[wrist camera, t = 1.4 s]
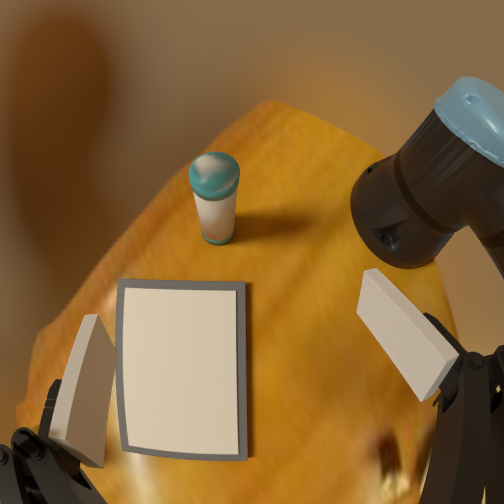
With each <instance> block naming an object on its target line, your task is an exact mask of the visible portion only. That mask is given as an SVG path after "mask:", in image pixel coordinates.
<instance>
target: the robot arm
mask: <svg viewBox="0 0 504 504" xmlns="http://www.w3.org/2000/svg"><path fill="white" fill-rule="evenodd" d="M434 106H435V107H434V109H433V110H432V111H431V112H430V114H429V115H428V116H427V117H426V119H425V120H424V121H423V122H422V123H421V125H420V126H419V127H418V128H417V129H416V131H415V132H414V133H413V134H412V135H411V137H410V138H409V139H408V140H407V141H406V143H405V144H404V145H403V146H402V148H401V149H400V150H399V151H398V152H397V153H395V154H393V155H391V156H389V157H387V158H385V159H382V160H380V161H378V162H376V163H374V164H372V165H371V166H369V167H368V168H367V169H366V170H365V171H364V172H363V173H362V174H361V176H360V177H359V178H358V179H357V181H356V182H355V184H354V186H353V189H352V193H351V212H352V217H353V221H354V224H355V226H356V229H357V231H358V233H359V235H360V236H361V238H362V240H363V241H364V243H365V244H366V245H367V246H368V248H369V249H370V250H371V251H372V252H373V253H374V254H375V255H376V256H377V257H379V258H380V259H381V260H383V261H384V262H386V263H388V264H390V265H392V266H394V267H398V268H403V269H411V268H416V267H419V266H421V265H423V264H425V263H427V262H429V261H431V260H432V259H434V258H435V257H436V256H437V255H438V253H439V252H440V251H441V250H442V248H443V247H444V246H445V245H446V243H447V242H448V241H449V239H450V238H451V237H452V235H453V234H454V233H455V232H456V231H458V230H460V229H462V228H463V227H465V226H467V225H469V226H470V228H471V229H472V230H473V232H474V233H475V234H476V236H477V237H478V239H479V240H480V241H481V243H482V245H483V246H484V248H485V249H486V251H487V252H488V254H489V255H490V257H491V258H492V260H493V262H494V263H495V265H496V267H497V268H498V270H499V272H500V273H501V275H502V277H503V279H504V93H502V92H501V91H499V90H498V89H497V88H496V87H494V86H493V85H491V84H489V83H487V82H485V81H483V80H481V79H478V78H474V77H462V78H460V79H458V80H457V81H455V82H454V83H453V85H452V86H451V87H450V88H449V89H448V90H447V92H446V93H445V94H444V95H443V96H441V97H439V98H438V99H437V100H436V102H435V104H434ZM357 314H358V315H359V316H360V318H361V319H362V320H363V322H364V323H365V324H366V326H367V327H368V328H369V330H370V331H371V332H372V334H373V335H374V336H375V338H376V339H377V341H378V342H379V343H380V345H381V346H382V347H383V349H384V350H385V352H386V353H387V354H388V356H389V357H390V358H391V360H392V361H393V363H394V364H395V366H396V367H397V368H398V370H399V371H400V373H401V374H402V375H403V377H404V378H405V380H406V381H407V383H408V384H409V386H410V387H411V389H412V390H413V391H414V393H415V394H416V396H417V397H418V399H419V400H420V402H422V401H424V400H426V399H427V398H429V397H431V396H433V395H434V393H435V392H436V390H437V389H438V387H439V388H440V390H441V393H440V394H439V395H438V397H437V398H436V399H435V401H434V402H433V405H432V406H435V405H436V403H437V402H438V401H439V404H438V406H437V407H438V414H437V422H436V429H435V436H434V442H433V448H432V453H431V458H430V463H429V467H428V472H427V476H426V480H425V484H424V487H423V491H422V494H421V498H420V501H419V504H481V503H482V499H483V494H484V488H485V498H486V500H485V502H486V503H485V504H504V345H501V346H499V347H498V348H497V349H496V351H495V352H494V354H492V355H487V356H482V355H481V354H479V353H477V352H469V353H468V352H467V351H466V350H465V349H464V348H463V347H462V346H461V345H460V344H459V342H458V341H457V340H456V339H455V338H454V337H453V336H452V335H451V334H450V333H449V332H447V329H446V328H445V327H444V326H442V324H441V323H440V322H439V321H438V320H437V319H436V318H435V317H433V316H432V315H430V314H428V313H423V314H422V313H421V312H420V311H419V310H418V309H417V308H416V307H415V306H414V305H413V304H412V303H411V302H410V301H409V300H408V299H407V298H406V297H405V296H404V295H403V294H402V293H401V292H400V291H399V290H398V289H397V288H396V287H395V286H394V285H393V284H392V283H391V282H390V281H389V280H388V279H387V278H386V277H385V276H384V275H383V274H382V273H381V272H380V271H379V270H378V269H377V268H374V269H369V270H365V271H364V275H363V281H362V286H361V292H360V297H359V302H358V307H357ZM117 355H118V353H117V351H116V349H115V347H114V345H113V343H112V342H111V340H110V338H109V336H108V334H107V332H106V330H105V327H104V325H103V323H102V321H101V319H100V317H99V315H98V314H91V315H85V316H84V318H83V321H82V323H81V326H80V329H79V331H78V334H77V337H76V340H75V342H74V345H73V348H72V351H71V354H70V357H69V360H68V363H67V366H66V369H65V372H64V376H63V379H62V380H58V379H56V380H55V381H54V383H53V384H52V386H51V387H50V389H49V392H48V395H47V400H46V403H45V408H44V410H43V414H42V418H41V422H40V426H39V431H38V435H36V434H35V433H34V432H33V431H32V430H30V429H29V428H26V427H22V428H19V429H17V430H16V432H14V434H13V436H12V439H11V447H12V450H11V449H10V448H9V447H8V446H6V445H3V444H0V502H1V504H107V502H106V501H105V500H104V499H103V497H102V496H101V495H100V494H99V492H98V491H97V490H96V488H95V487H94V485H93V484H92V483H91V481H90V480H89V478H88V477H87V476H86V474H85V473H84V471H83V470H82V469H81V468H80V462H82V463H83V464H84V465H86V466H87V467H93V468H101V469H104V453H105V440H106V429H107V420H108V412H109V404H110V397H111V390H112V384H113V377H114V372H115V366H116V360H117ZM498 385H499V386H500V391H499V392H497V390H496V388H497V387H498ZM26 489H27V490H26Z"/></svg>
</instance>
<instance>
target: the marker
mask: <svg viewBox="0 0 504 504" xmlns="http://www.w3.org/2000/svg"><path fill="white" fill-rule="evenodd" d="M239 175H240V169H239V166H238V163H237V162H236V161H235V159H234V158H233V157H231V156H230V155H228V154H225V153H222V152H209V153H205V154H203V155H201V156H199V157H198V158H196V159H195V160H194V161H193V163H192V164H191V166H190V169H189V179H190V184H191V188H192V190H193V192H194V197H195V201H196V206H197V211H198V216H199V220H200V225H201V229H202V234H203V237H204V238H205V240H206V241H207V242H208V243H210V244H212V245H217V246H218V245H224V244H226V243H228V242H229V241H230V240H231V238H232V237H233V234H234V223H235V210H236V196H237V187H238V184H239Z"/></svg>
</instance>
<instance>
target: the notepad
mask: <svg viewBox="0 0 504 504" xmlns="http://www.w3.org/2000/svg"><path fill="white" fill-rule="evenodd" d="M115 349H116V351H117V353H118V355H117V360H116V366H115V371H116V394H117V408H118V419H119V429H120V437H121V445H122V451H127V452H133V453H139V454H145V455H151V456H159V457H167V458H177V459H188V460H206V461H248V449H247V391H246V304H245V282H221V281H172V280H141V279H118V288H117V303H116V327H115Z"/></svg>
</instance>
